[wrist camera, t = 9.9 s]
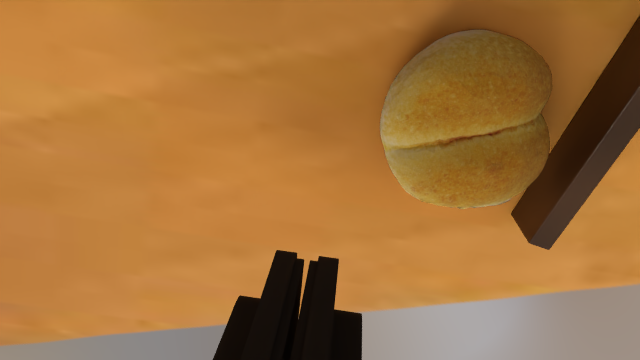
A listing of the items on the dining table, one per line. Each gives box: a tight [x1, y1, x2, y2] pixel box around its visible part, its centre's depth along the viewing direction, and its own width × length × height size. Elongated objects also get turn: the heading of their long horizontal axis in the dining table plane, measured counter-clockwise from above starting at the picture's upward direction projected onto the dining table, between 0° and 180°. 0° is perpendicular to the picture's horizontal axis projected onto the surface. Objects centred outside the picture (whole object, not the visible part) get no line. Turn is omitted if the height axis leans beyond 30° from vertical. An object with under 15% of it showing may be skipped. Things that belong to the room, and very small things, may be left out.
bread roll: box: [380, 30, 552, 209], centre depth 20 cm, size 8×9×4 cm
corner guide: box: [511, 17, 640, 250], centre depth 19 cm, size 15×15×3 cm
